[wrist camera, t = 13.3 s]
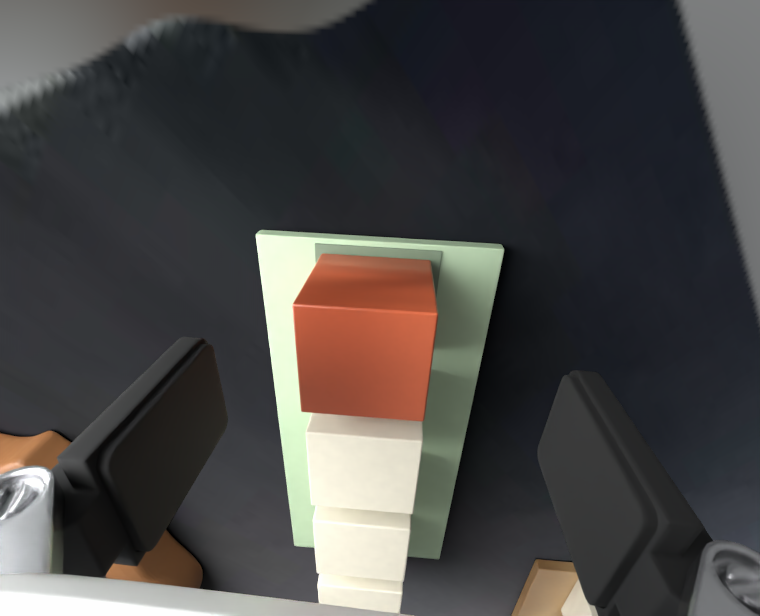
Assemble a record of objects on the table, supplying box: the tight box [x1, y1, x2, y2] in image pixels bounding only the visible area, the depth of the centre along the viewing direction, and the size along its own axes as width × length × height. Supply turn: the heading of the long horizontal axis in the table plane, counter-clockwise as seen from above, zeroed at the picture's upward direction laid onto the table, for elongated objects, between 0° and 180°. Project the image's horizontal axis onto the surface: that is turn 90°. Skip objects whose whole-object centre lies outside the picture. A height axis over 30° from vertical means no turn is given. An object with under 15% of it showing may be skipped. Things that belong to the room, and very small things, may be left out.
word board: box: [256, 230, 504, 614], centre depth 17 cm, size 9×20×5 cm, turn 178°
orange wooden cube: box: [292, 254, 438, 422], centre depth 13 cm, size 4×4×4 cm
